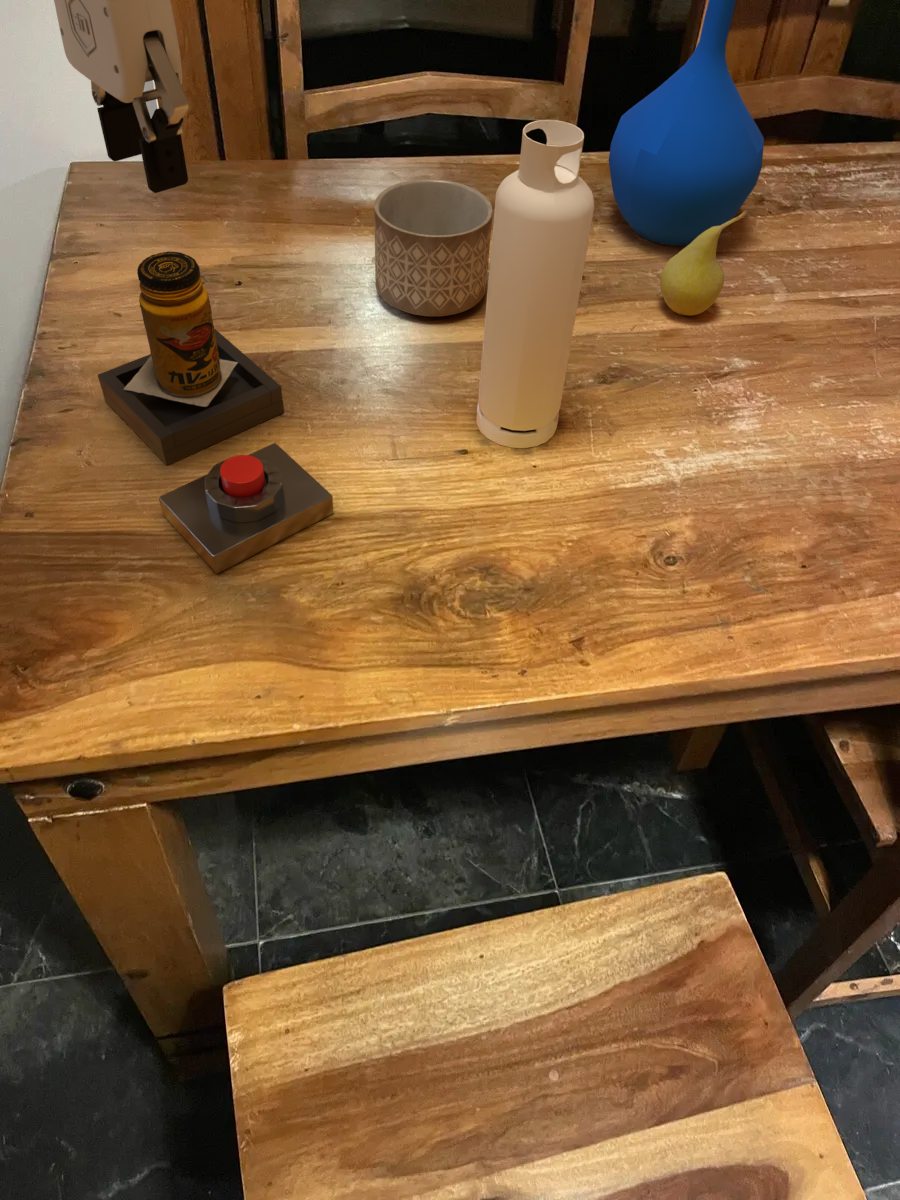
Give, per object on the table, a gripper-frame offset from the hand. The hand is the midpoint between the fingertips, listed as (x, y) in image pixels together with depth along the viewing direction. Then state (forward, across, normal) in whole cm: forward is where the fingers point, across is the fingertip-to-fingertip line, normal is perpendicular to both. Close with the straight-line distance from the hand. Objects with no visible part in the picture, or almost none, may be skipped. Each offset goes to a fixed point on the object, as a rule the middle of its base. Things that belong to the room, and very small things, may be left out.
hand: (147, 169), depth 74 cm
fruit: (+24, +18, +54) cm, 62 cm away
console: (+24, +16, -4) cm, 29 cm away
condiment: (+21, -1, 0) cm, 21 cm away
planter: (+24, -2, +32) cm, 40 cm away
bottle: (+24, +21, +24) cm, 40 cm away
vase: (+24, +4, +67) cm, 71 cm away
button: (+20, +16, -4) cm, 26 cm away
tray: (+24, 0, 0) cm, 24 cm away
